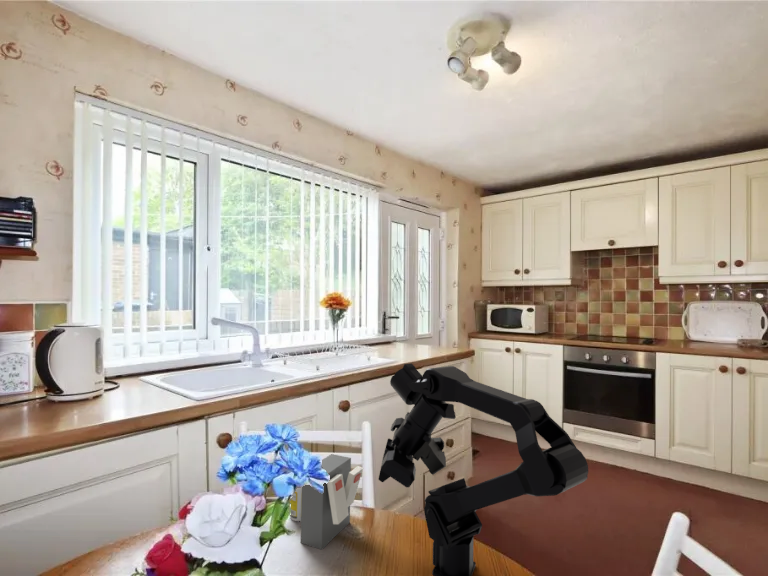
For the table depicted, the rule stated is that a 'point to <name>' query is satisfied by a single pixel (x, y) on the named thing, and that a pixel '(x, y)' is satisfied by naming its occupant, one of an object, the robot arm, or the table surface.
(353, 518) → the table surface
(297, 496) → the supplement bottle
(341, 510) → the block
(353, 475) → the block
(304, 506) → the switch box
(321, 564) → the table surface
